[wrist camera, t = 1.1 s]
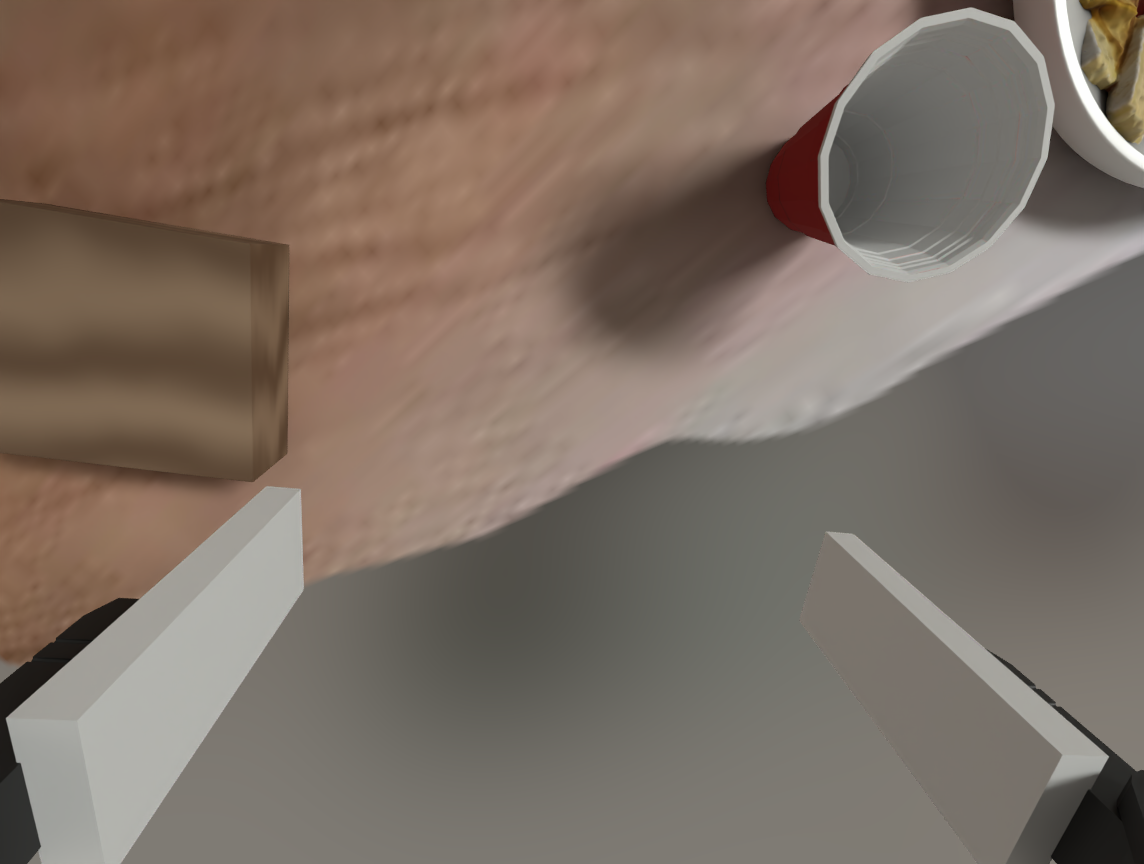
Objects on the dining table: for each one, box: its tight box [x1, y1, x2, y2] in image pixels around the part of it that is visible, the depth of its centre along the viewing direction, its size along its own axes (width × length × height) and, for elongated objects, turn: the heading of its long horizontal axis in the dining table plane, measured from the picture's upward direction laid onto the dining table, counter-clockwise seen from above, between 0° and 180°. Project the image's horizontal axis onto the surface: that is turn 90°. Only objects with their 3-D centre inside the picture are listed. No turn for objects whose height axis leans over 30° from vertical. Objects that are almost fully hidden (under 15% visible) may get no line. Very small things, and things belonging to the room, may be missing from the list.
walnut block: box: [0, 199, 289, 482], centre depth 33 cm, size 14×14×5 cm
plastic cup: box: [766, 7, 1055, 283], centre depth 29 cm, size 11×11×12 cm
